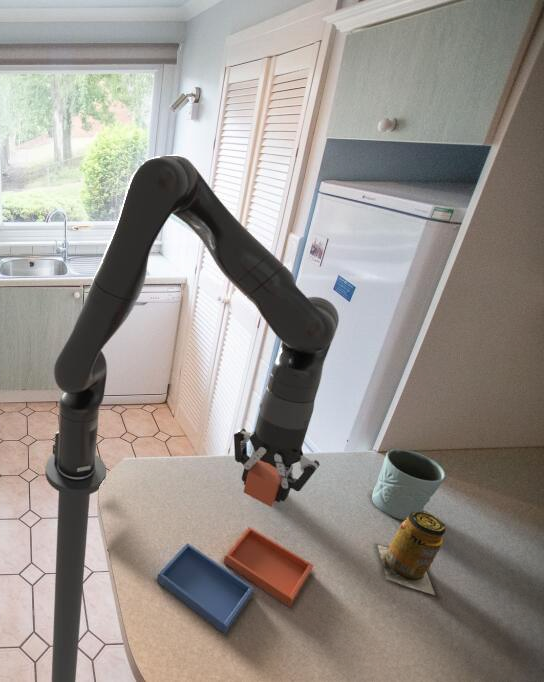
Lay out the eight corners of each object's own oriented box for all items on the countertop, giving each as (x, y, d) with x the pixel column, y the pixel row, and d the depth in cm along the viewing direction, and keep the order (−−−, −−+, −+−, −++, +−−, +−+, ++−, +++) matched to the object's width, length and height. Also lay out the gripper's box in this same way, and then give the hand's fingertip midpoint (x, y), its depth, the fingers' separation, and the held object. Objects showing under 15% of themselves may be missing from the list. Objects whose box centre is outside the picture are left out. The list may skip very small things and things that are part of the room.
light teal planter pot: (391, 486, 106) (409, 445, 101) (436, 518, 97) (459, 475, 92) (357, 494, 104) (374, 453, 99) (400, 529, 95) (421, 485, 90)
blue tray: (156, 581, 84) (158, 573, 83) (185, 549, 90) (187, 542, 89) (224, 634, 75) (227, 626, 74) (251, 595, 81) (254, 588, 80)
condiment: (421, 559, 88) (446, 514, 83) (434, 595, 81) (462, 549, 76) (377, 545, 91) (397, 501, 86) (385, 580, 84) (409, 533, 79)
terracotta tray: (223, 562, 88) (225, 555, 87) (246, 533, 94) (248, 526, 93) (289, 607, 79) (292, 599, 79) (310, 572, 86) (313, 565, 85)
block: (243, 492, 84) (248, 471, 81) (254, 479, 87) (260, 458, 84) (270, 507, 80) (277, 485, 78) (282, 493, 83) (288, 472, 81)
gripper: (339, 423, 74) (312, 502, 81) (251, 390, 83) (234, 463, 90) (324, 443, 69) (296, 525, 76) (232, 405, 78) (216, 481, 86)
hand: (262, 491), depth 83 cm, fingers closed on block, 5 cm apart
